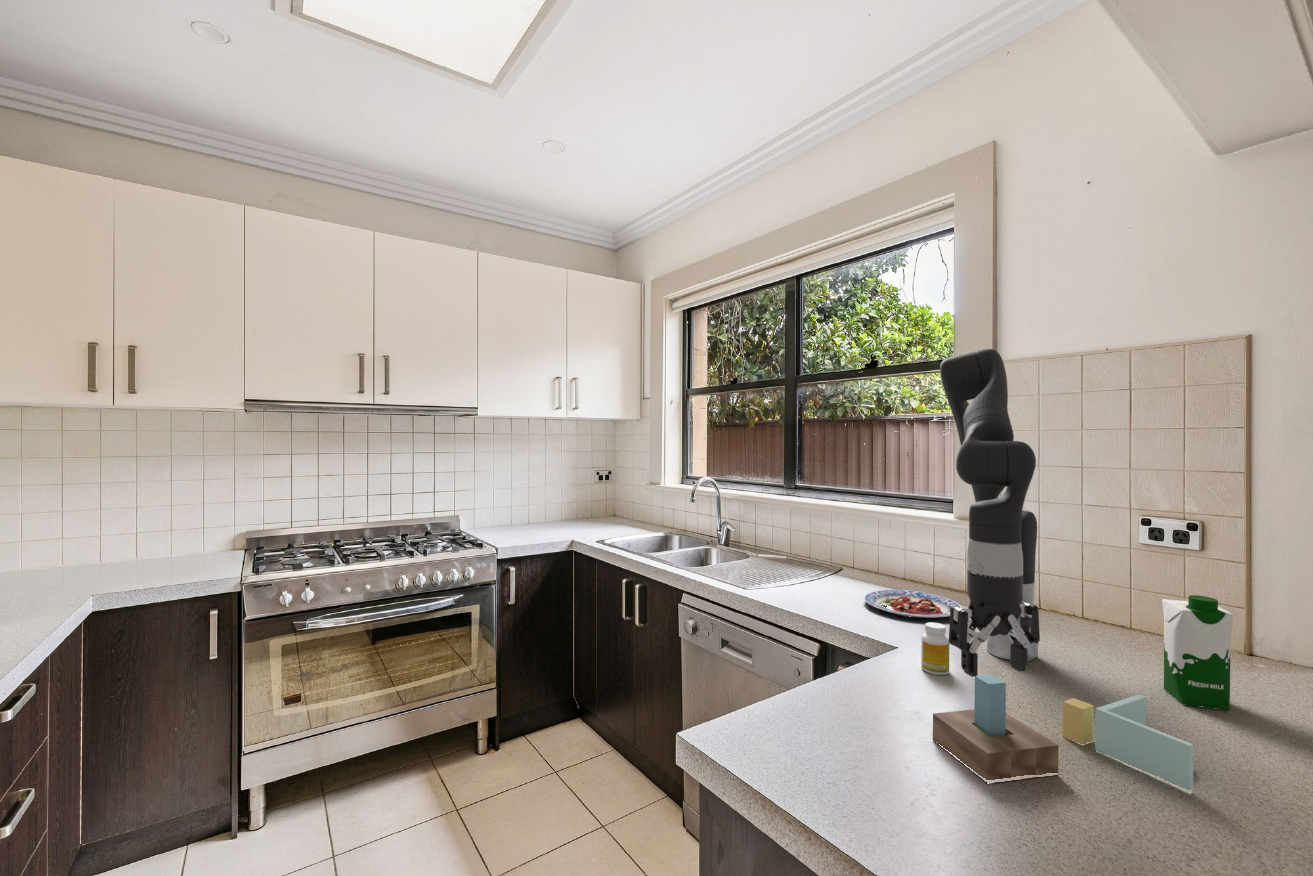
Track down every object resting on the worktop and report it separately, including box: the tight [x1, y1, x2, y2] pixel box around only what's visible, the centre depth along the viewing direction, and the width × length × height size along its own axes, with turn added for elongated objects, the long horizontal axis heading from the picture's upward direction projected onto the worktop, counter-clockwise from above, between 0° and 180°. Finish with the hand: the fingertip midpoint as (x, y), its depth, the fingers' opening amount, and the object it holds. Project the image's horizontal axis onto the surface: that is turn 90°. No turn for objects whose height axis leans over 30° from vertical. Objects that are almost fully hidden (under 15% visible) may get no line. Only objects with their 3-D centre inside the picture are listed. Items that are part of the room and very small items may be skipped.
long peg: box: [974, 674, 1007, 737], centre depth 90 cm, size 3×3×12 cm
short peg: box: [1062, 697, 1095, 744], centre depth 95 cm, size 3×3×6 cm
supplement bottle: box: [920, 621, 950, 676], centre depth 123 cm, size 5×5×10 cm
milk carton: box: [1161, 594, 1235, 711], centre depth 109 cm, size 9×9×20 cm
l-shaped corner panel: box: [1094, 694, 1195, 790], centre depth 89 cm, size 12×12×8 cm
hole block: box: [932, 708, 1060, 780], centre depth 90 cm, size 12×12×4 cm
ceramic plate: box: [863, 589, 963, 619], centre depth 166 cm, size 26×26×3 cm
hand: (994, 672), depth 90 cm, fingers open, 8 cm apart
